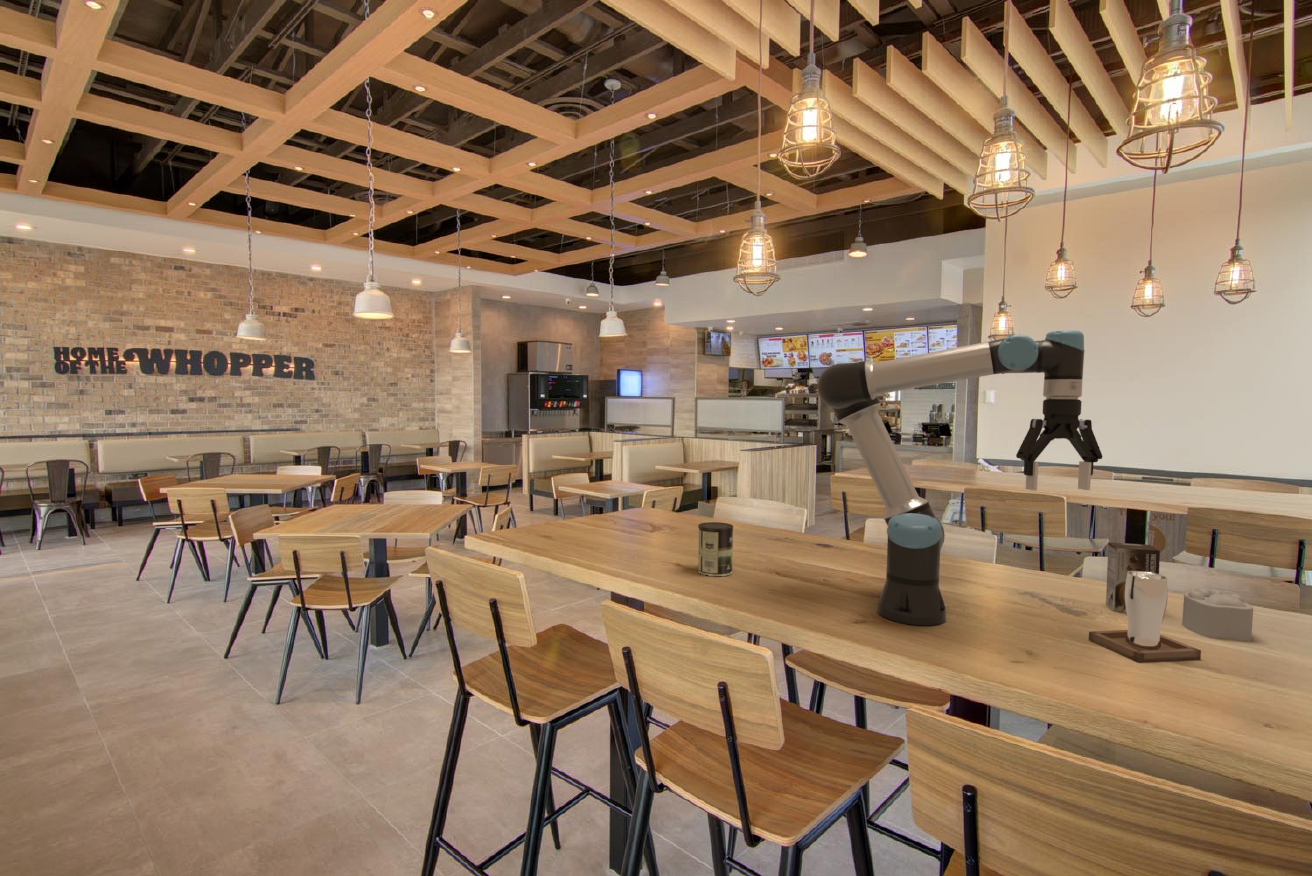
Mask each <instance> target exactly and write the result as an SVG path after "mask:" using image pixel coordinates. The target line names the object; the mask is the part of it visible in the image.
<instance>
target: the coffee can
mask: <svg viewBox="0 0 1312 876" xmlns="http://www.w3.org/2000/svg"><path fill="white" fill-rule="evenodd" d="M733 537H734V525H733V524H731V523H728V522H721V521H720V522H719V521H718V522H716V521H715V522H714V521H712V522H702V523H698V561H697V562H698V563H697V564H698V566H697V567H698V568H697V569H698V570H697V573H698V574H700V573H701V574H700V575H702V574H703V575H702V576H705V575H708V576H707V577H713V576H722V577H728V576H731V575H732V574H733V551H734V550H733V548H734V547H733V542H734V541H733V540H734V538H733ZM730 574H731V575H730ZM727 575H728V576H727Z"/></svg>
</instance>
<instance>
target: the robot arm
mask: <svg viewBox="0 0 1312 876" xmlns="http://www.w3.org/2000/svg"><path fill="white" fill-rule="evenodd" d="M1085 351H1086V350H1085V336H1084V333H1083V332H1082V331H1080V330H1069V329H1067V330H1064V329H1063V330H1054V331H1053V330H1052V331H1049V332H1047V333H1046V335H1045V338H1044V339H1042V340H1034V339H1033V338H1032V337H1031V336H1028V335H1026V334H1021V333H1019V334H1018V333H1017V334H1013V335H1009V336H1007V337H1005V338H1000V339H994V340H991V341H984V342H979V343H974V344H969V345H962V346H956V347H953V348H946V349H941V350H937V351H931V352H927V353H920V354H917V355H911V356H906V357H899V358H895V359H891V360H885V361H879V362H874V363H872V362H871V361H869V360H862V361H856V362H846V363H845V362H843V363H835V364H833V365H830V366H828V367H827V368H826V369H825V370H823V371H822V373H821V374H820V376H819V378H818V381H817V393H818V396H819V398H820V399H821V401H822V402H823V403H824V404H825V405H826V406H828V407H830V408H832V410H833V413H834V415H835V417H836V419H837V421H838V423H839V424H841V425H844V426H846V427H847V428H848V431H849V433H850V435H851V437H852V439H853V442H854V444H855V446H856V447H857V450H858V452H859V455H860V456H861V458H862V460H863V463H864V465H865V468H866V469H867V471H868V474H869V475H870V478H871V479H872V481H873V483H874V486H875V488H876V490H877V492H878V494H879V496H880V498H881V500H882V503H883V505H884V507H885V513H884V514H883V519H884V521H885V523H886V526H887V529H886V534H887V544H886V545H887V546H886V547H887V549H886V575H885V576H886V577H885V578H886V579H885V582H884V586H883V588H882V591H881V593H880V595H879V598H878V600H877V613H878V614H879V615H880V616H882V617H883V618H885V619H887V620H891V621H893V622H896V623H902V624H906V625H913V626H914V625H915V626H935V625H936V626H937V625H941V624H943V623H945V622H946V620H947V609H946V605H945V602H944V599H943V596H942V592H941V588H940V568H941V567H940V566H941V565H940V564H941V551H942V550H941V549H942V548H943V546H944V542H945V536H946V535H945V530H944V529H945V528H944V525H943V524H942V522H941V521H940V519H939V518H938V517H937V516H936V515H935V513H934V510H933V509H932V507H931V505H930V502H929V501H928V500H927V499H926V498H923V497H921V496H919V494H918V492H917V490H916V488H915V486H914V484H913V482H912V480H911V478H910V475H909V474H908V472H907V469H906V468H905V466H904V463H903V462H902V460H901V457H900V455H899V453H898V451H897V448H896V447H895V445H894V442H893V440H892V439H891V437H890V434H889V432H888V430H887V428H886V426H885V424H884V422H883V420H882V418H881V416H880V413H879V411H880V408H881V405H882V404H881V401H880V400H879V397H878V395H882V394H888V393H889V394H890V393H894V392H899V391H906V390H910V389H916V388H922V387H928V386H934V385H940V384H946V383H952V382H957V381H964V380H969V379H974V378H975V379H976V378H980V377H986V376H987V377H988V376H991V375H999V374H1001V375H1004V374H1032V373H1034V374H1040V373H1042V374H1044V378H1043V388H1042V389H1043V391H1042V396H1043V397H1045V399H1044V400H1042V414H1043V416H1044V417H1043V419H1042V418H1031V420H1030V423H1029V429H1028V431H1027V433H1026V434H1025V437H1024V439H1023V441H1022V443H1021V444H1020V447H1019V448H1018V451H1017V453H1016V455H1015V457H1016V458H1017V459H1020V460H1021V461H1022V462H1023V463H1024V464H1023V475H1024V476H1025V490H1029V491H1038V476H1039V475H1038V474H1039V462H1037V461H1036V460H1037V458H1039V456H1040V455H1041V454H1042V453H1043V452H1044V450H1045V449H1046V447H1048V446H1049V444H1050V443H1051V442H1052V441H1054V440H1055V439H1056V440H1058V439H1066V440H1068V442H1070V444H1071V445H1072V446H1073V448H1074V450H1075V451H1076V452H1077V453H1078V455H1079V456H1080V457H1079V458H1081V459H1082V461H1081V460H1080V461H1079V462H1078V464H1079V465H1078V479H1077V480H1078V481H1077V484H1078V485H1077V489H1079V490H1083V491H1091V480H1092V479H1091V478H1092V476H1093V474H1094V463H1098V461H1099V460H1101V459H1103V454H1102V451H1101V449H1100V446H1099V444H1098V441H1097V439H1096V436H1095V434H1094V431H1093V425H1092V420H1091V419H1081V418H1080V419H1079V416H1080V415H1081V414H1082V402H1083V401H1081V399H1079V398H1081V397H1082V396H1083V375H1084V363H1085ZM1043 428H1044V429H1043ZM1078 430H1079V431H1078Z"/></svg>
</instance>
